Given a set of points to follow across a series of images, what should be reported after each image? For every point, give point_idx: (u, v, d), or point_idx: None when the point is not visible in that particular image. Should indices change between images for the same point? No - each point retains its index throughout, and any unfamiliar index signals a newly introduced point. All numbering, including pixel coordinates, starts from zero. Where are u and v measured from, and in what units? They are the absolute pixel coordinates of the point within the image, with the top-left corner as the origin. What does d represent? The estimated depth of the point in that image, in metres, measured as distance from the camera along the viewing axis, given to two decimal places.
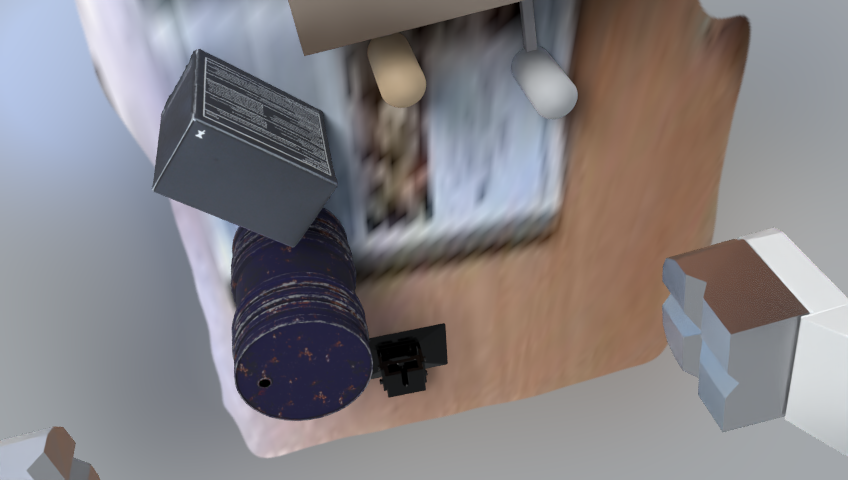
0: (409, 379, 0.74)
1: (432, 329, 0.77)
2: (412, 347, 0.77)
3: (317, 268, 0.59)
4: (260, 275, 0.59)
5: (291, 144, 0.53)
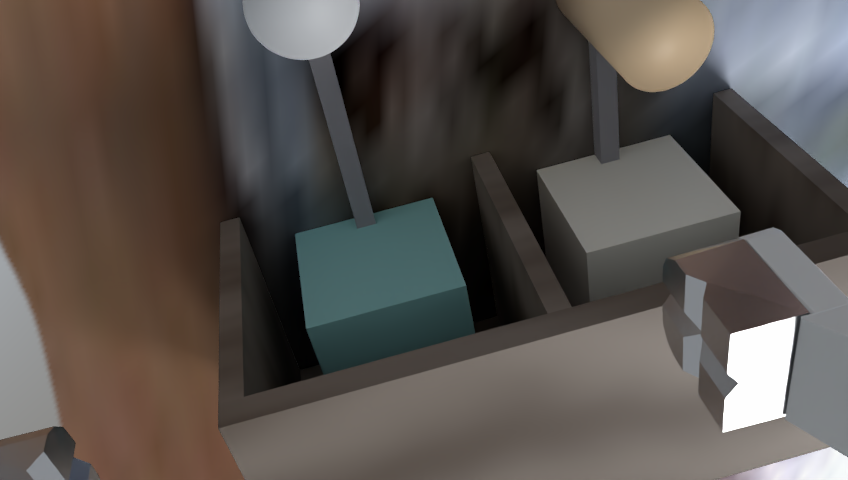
0: None
1: None
2: None
3: None
4: None
5: None
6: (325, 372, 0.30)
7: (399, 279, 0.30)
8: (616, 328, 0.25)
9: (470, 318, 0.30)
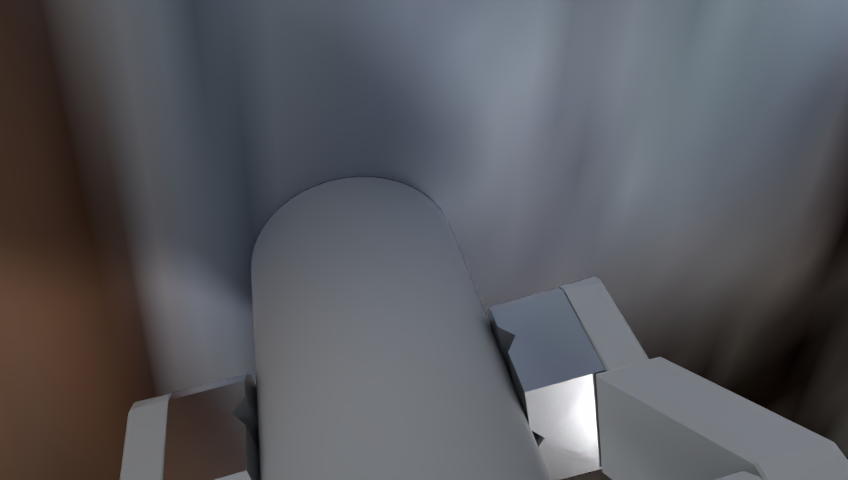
0: None
1: None
2: None
3: None
4: None
5: None
6: None
7: None
8: None
9: None
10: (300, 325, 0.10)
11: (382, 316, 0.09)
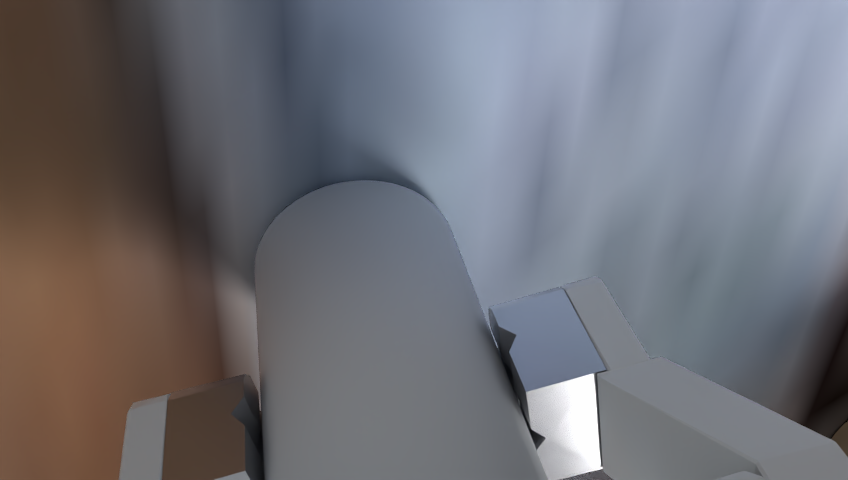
0: None
1: None
2: None
3: None
4: None
5: None
6: None
7: None
8: None
9: None
10: (308, 324, 0.10)
11: (388, 317, 0.09)
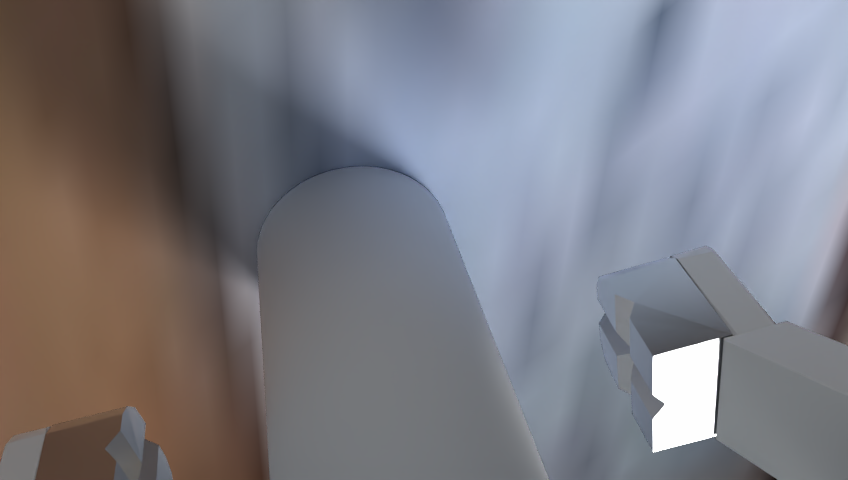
0: None
1: None
2: None
3: None
4: None
5: None
6: None
7: None
8: None
9: None
10: (312, 295, 0.10)
11: (389, 291, 0.10)
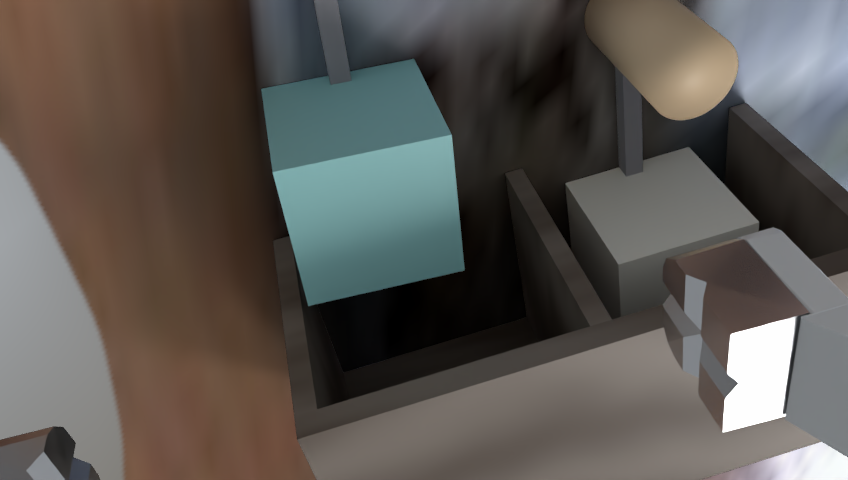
0: None
1: None
2: None
3: None
4: None
5: None
6: (291, 228, 0.27)
7: (377, 128, 0.27)
8: (653, 338, 0.27)
9: (453, 176, 0.28)
10: None
11: None
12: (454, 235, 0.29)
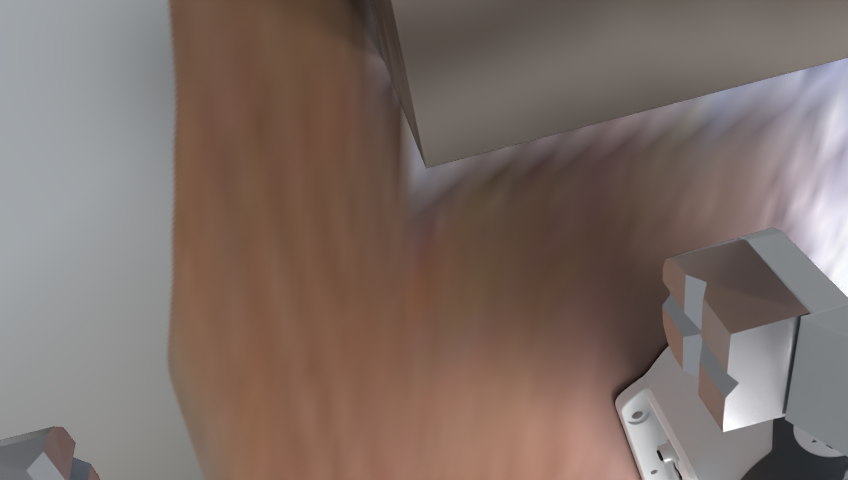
0: None
1: None
2: None
3: None
4: None
5: None
6: None
7: None
8: None
9: None
10: None
11: None
12: None
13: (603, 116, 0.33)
